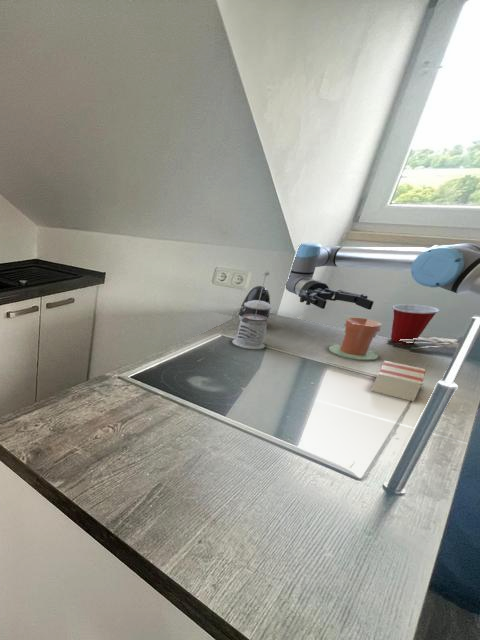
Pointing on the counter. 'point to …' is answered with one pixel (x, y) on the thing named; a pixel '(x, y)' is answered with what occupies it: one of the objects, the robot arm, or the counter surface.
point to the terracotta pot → (359, 335)
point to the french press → (252, 324)
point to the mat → (368, 356)
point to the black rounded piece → (255, 295)
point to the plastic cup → (410, 321)
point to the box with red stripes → (399, 380)
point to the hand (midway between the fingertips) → (347, 305)
